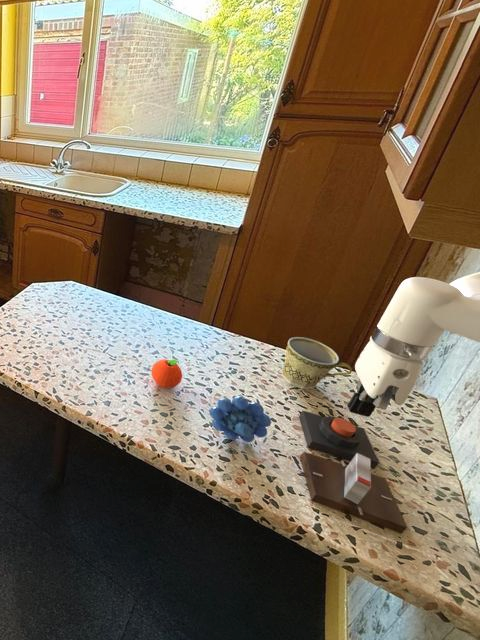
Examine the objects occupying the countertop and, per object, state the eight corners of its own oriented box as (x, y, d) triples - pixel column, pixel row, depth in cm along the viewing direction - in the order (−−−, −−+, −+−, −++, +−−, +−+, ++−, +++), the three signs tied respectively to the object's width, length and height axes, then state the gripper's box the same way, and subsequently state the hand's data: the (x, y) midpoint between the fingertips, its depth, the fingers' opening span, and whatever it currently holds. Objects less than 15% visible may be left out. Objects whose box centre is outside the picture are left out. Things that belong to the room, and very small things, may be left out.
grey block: (345, 468, 79) (357, 451, 76) (358, 475, 78) (371, 458, 75) (343, 497, 74) (356, 480, 71) (358, 504, 73) (371, 487, 70)
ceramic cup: (271, 381, 102) (286, 351, 97) (276, 360, 109) (290, 331, 104) (336, 408, 95) (356, 377, 90) (337, 383, 101) (355, 353, 97)
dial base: (378, 480, 79) (384, 474, 78) (403, 538, 70) (410, 531, 69) (298, 454, 84) (302, 447, 83) (312, 504, 75) (317, 498, 74)
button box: (359, 435, 88) (367, 422, 86) (374, 469, 81) (383, 456, 79) (298, 416, 92) (305, 404, 90) (307, 447, 85) (315, 435, 83)
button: (349, 427, 86) (353, 421, 85) (354, 440, 83) (358, 434, 82) (328, 420, 87) (331, 415, 86) (333, 433, 84) (336, 427, 83)
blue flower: (205, 448, 85) (222, 409, 79) (198, 422, 91) (214, 384, 85) (267, 462, 82) (290, 422, 77) (256, 435, 88) (276, 396, 82)
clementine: (162, 368, 106) (168, 347, 103) (186, 385, 101) (194, 364, 97) (142, 380, 102) (148, 359, 99) (167, 398, 97) (174, 376, 94)
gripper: (449, 374, 66) (396, 447, 74) (410, 324, 78) (368, 392, 86) (389, 360, 69) (345, 433, 77) (360, 314, 81) (325, 381, 89)
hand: (357, 411), depth 82 cm, fingers closed
